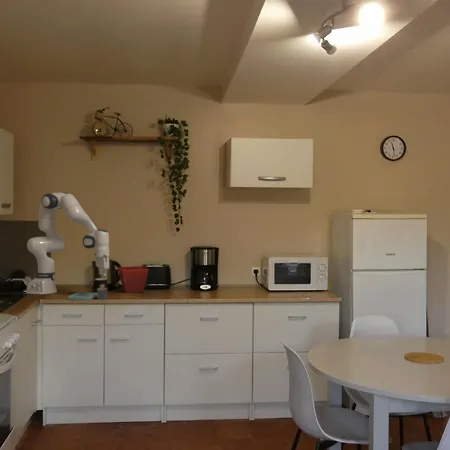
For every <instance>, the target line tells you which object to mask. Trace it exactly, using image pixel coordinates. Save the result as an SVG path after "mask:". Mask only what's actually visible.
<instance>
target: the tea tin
mask: <svg viewBox="0 0 450 450" xmlns="http://www.w3.org/2000/svg"><path fill="white" fill-rule="evenodd" d="M108 291H109V290H108V287H107V288H98V289H97V291H96V293H97V297H96V298H97V299H96V300H99V301H100V300H101V301H104V300H107V299H108V295H109V294H108V293H109V292H108Z"/></svg>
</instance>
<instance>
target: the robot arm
mask: <svg viewBox="0 0 450 450" xmlns="http://www.w3.org/2000/svg"><path fill="white" fill-rule="evenodd" d="M61 209H63V212H64V213H65V215H66V217H67V218H68V219H69V220H70V221H71V222H74V223H77V224H79V225H82V226H83V227H85V229H86V230H87V231H88V232H89V233H88V234H85V235H84V236H83V238H82V241H81V242H82V245H83V247H84V248H85V249H91V250H93V249H95V252H94V257H95V266H96V267H97V268H98V269H97V270H98V274H99V275H102V276H104V277H106V276H107V271H108V270H110V258H109V257H110V245H109V244H110V235H109V231H108V230H106V229H101V228H98V226H97V225H96V223H95V222H94V221H93V220H92V218H91V217H90V216H89V215H88V213H86V211H85V210H84V208H83V207H82V206H81V204H80V202H79V201H78V200H77V198H76V197H75V196H74V195H73V193H72V194H71V193H68V192H65V191H64V192H63V191H62V192H59V191H57V192H52V193H46V194H43V196H42V197H41V203H40V206H39V211H38V229H39V230H40V231H42V232H44V233H45V234H46V236H36V237H31V238H29V239H28V240H27V244H26V247H27V250H28V251H29V252H30V253H31V254H33V255H34V256H35V259H36V262H37V272H36V273H34V276H35V277H34V278H33V279H32V280H30V281H29V282H28V283H27V286H26V289H24V290H23V292H26V293H25V294H31V295H32V294H33V295H47V294H48V295H49V294H56V293H57V292H58V289H57V286H56V272H55V260H54V259H53V258H51V257H49V256H48V255H47V253H56V252H60V251H63V250H64V248H65V245H66V243H65V240H64V238H63V237H62V236H61V235H59V233H58V231H57V228H56V213H57V212H56V211H57V210H61Z"/></svg>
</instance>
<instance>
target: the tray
mask: <svg viewBox="0 0 450 450" xmlns="http://www.w3.org/2000/svg"><path fill="white" fill-rule="evenodd" d="M95 298H97V292H85V291H84V292H81V291H79V292H75V293H73V294H71V295H68V296H67V300H71V301H72V300H73V301H74V300H76V301H91V300H94V299H95Z"/></svg>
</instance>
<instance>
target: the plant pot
mask: <svg viewBox="0 0 450 450" xmlns="http://www.w3.org/2000/svg"><path fill="white" fill-rule="evenodd" d="M118 273H119V280H120V283H121V287H122V290H123V292H124V294H128V293H131V294H132V293H136V294H137V293H143V292H144V291H145V288H146V285H147V282H148V281H147V279H148V275H149V274H148V273H149V268H147V267H146V266H145V265H144V266H143V265H142V266H141V265H138V266H136V265H135V266H118Z"/></svg>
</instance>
